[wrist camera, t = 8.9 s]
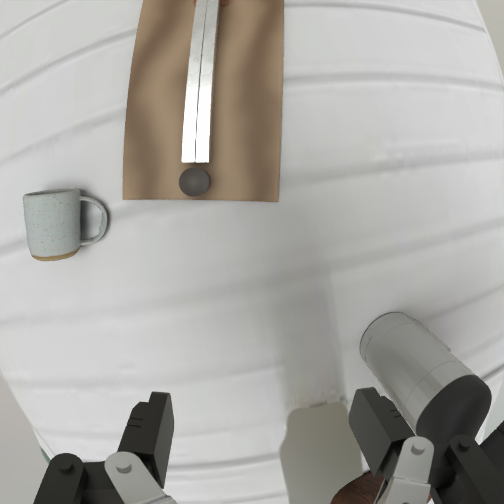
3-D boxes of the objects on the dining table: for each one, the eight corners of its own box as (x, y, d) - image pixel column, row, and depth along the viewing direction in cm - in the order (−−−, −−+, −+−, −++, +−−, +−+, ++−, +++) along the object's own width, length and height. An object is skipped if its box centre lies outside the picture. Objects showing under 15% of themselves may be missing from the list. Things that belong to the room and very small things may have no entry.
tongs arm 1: (217, 164, 33) (216, 162, 29) (199, 164, 33) (195, 161, 29) (228, -11, 28) (228, -28, 24) (212, -11, 28) (211, -28, 24)
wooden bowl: (301, 514, 53) (309, 545, 43) (360, 456, 48) (377, 492, 38) (377, 509, 56) (388, 535, 46) (435, 454, 52) (453, 481, 42)
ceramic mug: (47, 249, 35) (17, 263, 28) (43, 190, 33) (11, 194, 26) (112, 249, 36) (89, 265, 29) (110, 185, 34) (85, 188, 27)
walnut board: (282, -22, 29) (290, -48, 23) (276, 201, 36) (286, 205, 30) (151, -22, 27) (141, -46, 21) (125, 199, 34) (106, 203, 28)
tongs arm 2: (198, 164, 33) (194, 161, 29) (180, 164, 33) (174, 161, 29) (212, -11, 28) (211, -28, 24) (196, -11, 27) (194, -28, 24)
